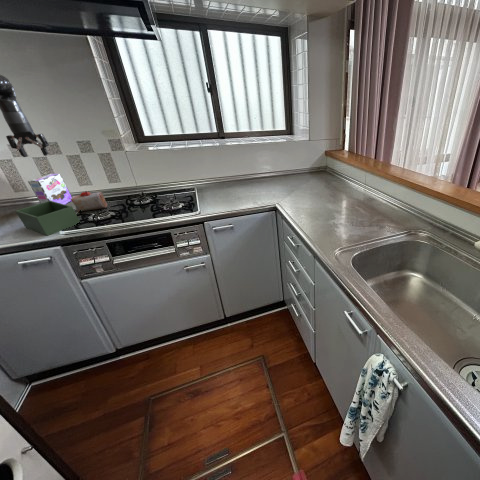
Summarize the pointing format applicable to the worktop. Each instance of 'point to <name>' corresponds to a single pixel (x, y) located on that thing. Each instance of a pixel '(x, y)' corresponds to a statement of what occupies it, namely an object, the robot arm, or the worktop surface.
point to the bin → (48, 217)
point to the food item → (89, 201)
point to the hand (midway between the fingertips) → (35, 156)
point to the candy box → (51, 189)
